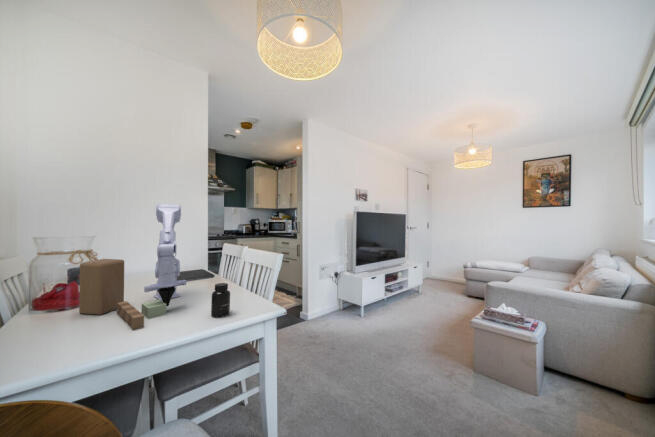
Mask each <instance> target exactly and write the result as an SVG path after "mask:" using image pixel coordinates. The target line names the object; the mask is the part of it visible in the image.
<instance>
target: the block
mask: <svg viewBox="0 0 655 437" xmlns="http://www.w3.org/2000/svg"><path fill="white" fill-rule="evenodd" d="M79 264H80V265H79V295H78V296H79V301H78V302H79V303H78V305H79V306H78V312H79V314H83V315H85V314H86V315H96V316H97V315H99V316H100V315H104V314H107V313H109V312H112V311H114V310H117V303H119V302H124V301H125V299H124V298H125V260H124V259H117V258H116V259H115V258H113V259H112V258H102V259H95V260H89V261H83V262H81V263H79Z"/></svg>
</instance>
